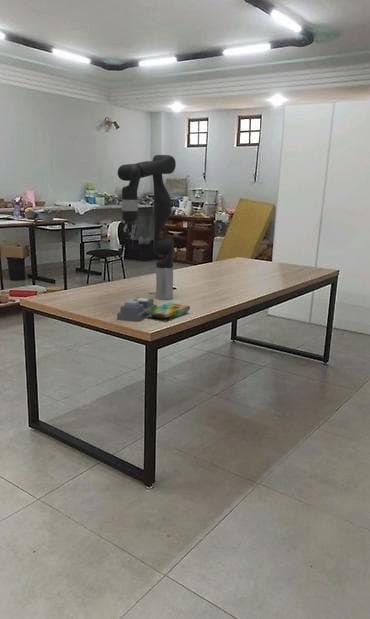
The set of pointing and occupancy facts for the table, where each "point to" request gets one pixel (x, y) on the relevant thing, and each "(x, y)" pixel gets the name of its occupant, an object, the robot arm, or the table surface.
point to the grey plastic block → (136, 311)
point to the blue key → (132, 304)
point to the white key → (142, 299)
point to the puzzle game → (168, 311)
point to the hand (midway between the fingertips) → (130, 246)
